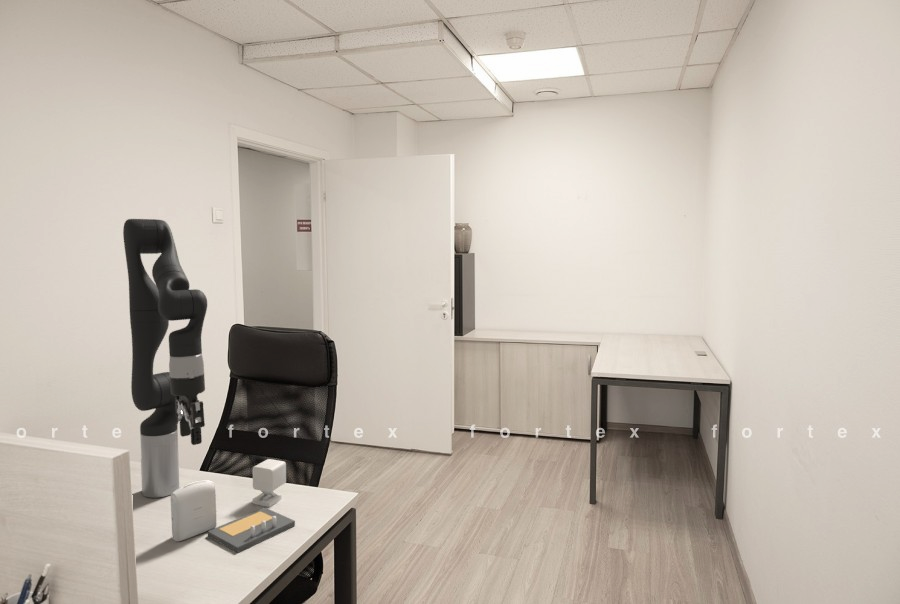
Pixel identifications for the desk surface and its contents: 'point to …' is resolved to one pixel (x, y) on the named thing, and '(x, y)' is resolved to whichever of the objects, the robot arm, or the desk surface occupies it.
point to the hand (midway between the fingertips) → (190, 439)
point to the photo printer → (193, 509)
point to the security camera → (268, 481)
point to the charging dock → (251, 529)
